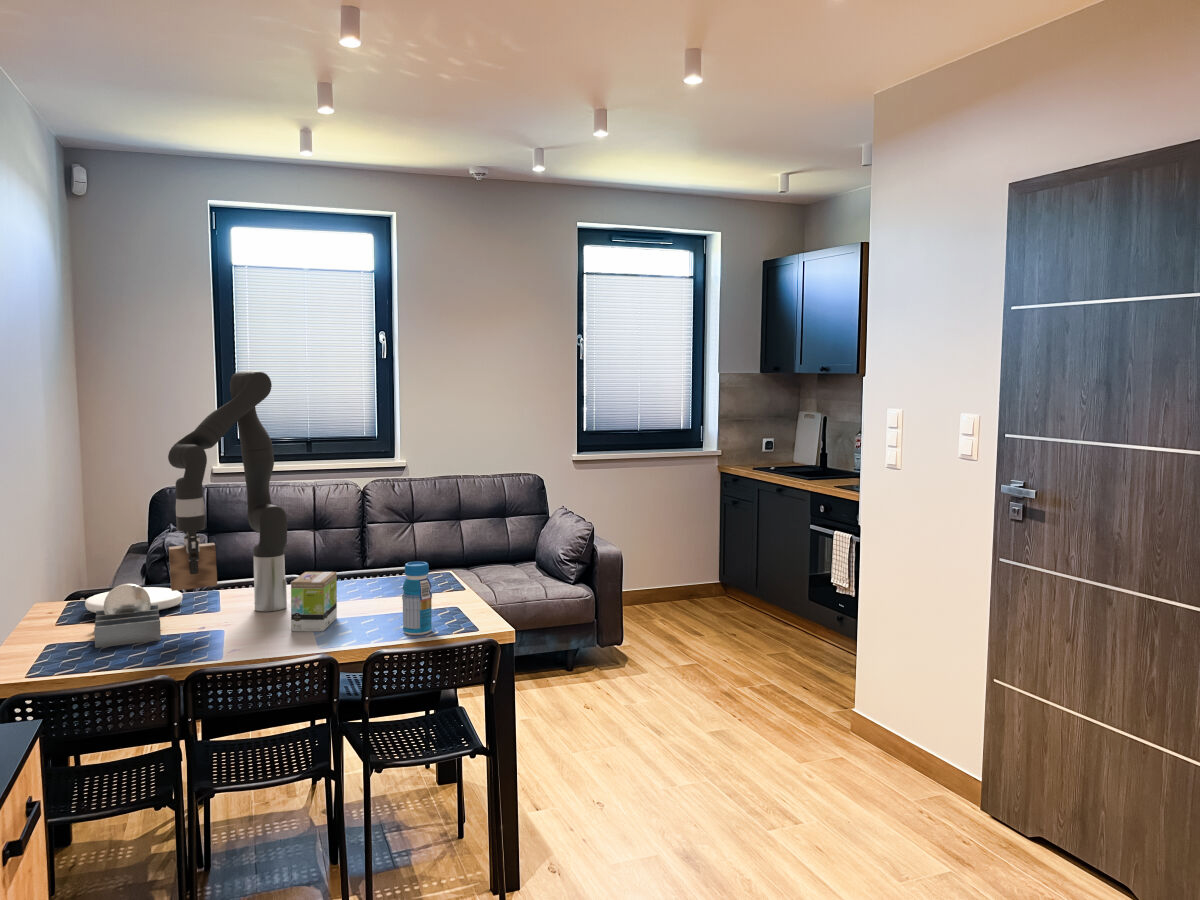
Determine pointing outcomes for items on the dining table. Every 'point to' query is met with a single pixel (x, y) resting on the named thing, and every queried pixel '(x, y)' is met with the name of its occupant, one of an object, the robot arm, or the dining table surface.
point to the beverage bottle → (417, 599)
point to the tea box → (313, 601)
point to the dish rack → (127, 618)
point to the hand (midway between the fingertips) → (193, 572)
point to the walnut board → (181, 567)
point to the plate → (157, 596)
